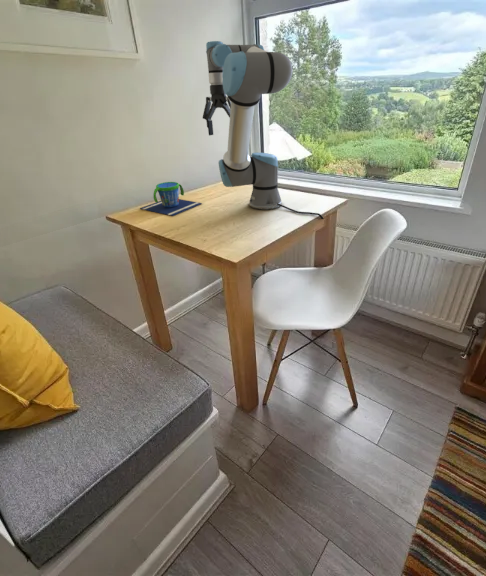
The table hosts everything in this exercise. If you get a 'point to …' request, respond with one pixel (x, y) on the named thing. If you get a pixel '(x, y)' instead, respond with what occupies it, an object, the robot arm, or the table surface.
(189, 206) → the towel
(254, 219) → the table surface
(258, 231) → the table surface
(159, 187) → the snack cup
